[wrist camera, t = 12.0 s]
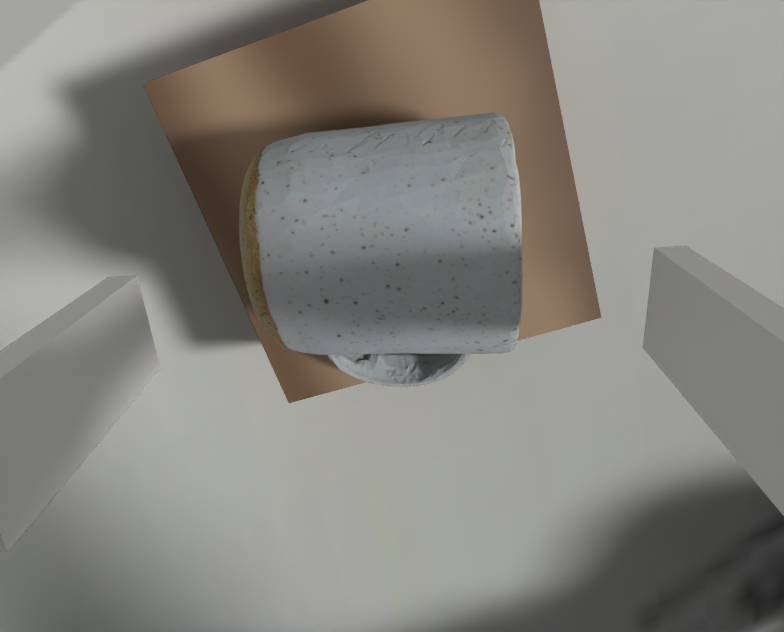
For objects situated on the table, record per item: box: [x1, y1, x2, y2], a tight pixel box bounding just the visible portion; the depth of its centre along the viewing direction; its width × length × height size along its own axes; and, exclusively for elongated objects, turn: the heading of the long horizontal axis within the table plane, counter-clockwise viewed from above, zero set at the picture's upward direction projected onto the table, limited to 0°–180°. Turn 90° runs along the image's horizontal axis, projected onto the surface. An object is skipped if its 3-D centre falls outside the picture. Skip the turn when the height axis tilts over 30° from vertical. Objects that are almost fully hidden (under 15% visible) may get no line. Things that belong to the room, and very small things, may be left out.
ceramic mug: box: [239, 112, 523, 387], centre depth 20 cm, size 11×8×8 cm
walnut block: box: [143, 0, 601, 403], centre depth 26 cm, size 14×14×7 cm
